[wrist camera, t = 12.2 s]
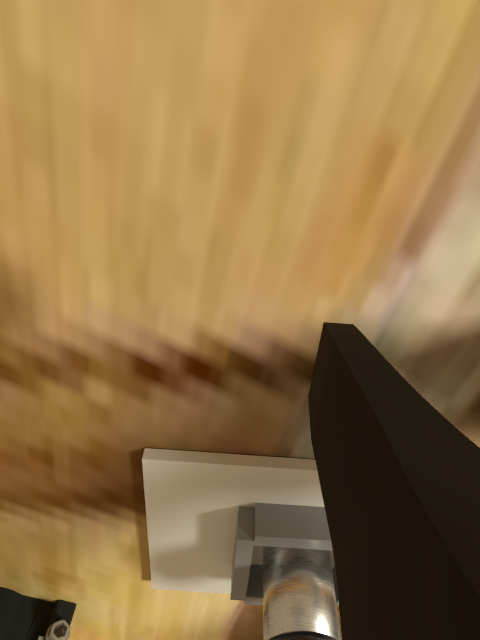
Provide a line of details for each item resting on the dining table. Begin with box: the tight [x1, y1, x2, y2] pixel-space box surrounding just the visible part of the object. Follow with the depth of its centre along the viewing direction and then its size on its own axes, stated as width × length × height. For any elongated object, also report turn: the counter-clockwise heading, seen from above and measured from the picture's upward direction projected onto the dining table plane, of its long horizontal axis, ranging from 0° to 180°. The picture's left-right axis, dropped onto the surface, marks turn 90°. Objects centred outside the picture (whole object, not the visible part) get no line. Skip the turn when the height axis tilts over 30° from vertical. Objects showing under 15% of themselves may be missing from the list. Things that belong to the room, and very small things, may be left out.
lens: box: [263, 546, 341, 640], centre depth 27 cm, size 4×4×7 cm
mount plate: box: [142, 448, 339, 606], centre depth 30 cm, size 20×15×3 cm
